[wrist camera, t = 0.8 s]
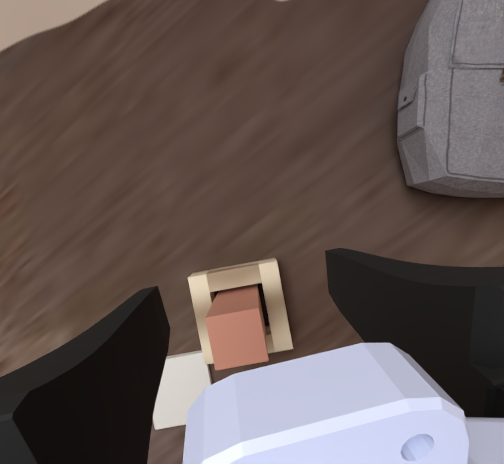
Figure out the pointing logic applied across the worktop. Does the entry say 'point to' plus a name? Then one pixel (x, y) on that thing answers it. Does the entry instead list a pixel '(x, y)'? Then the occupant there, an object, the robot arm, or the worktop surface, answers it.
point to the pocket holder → (236, 277)
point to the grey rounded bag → (454, 100)
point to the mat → (180, 388)
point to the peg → (237, 328)
